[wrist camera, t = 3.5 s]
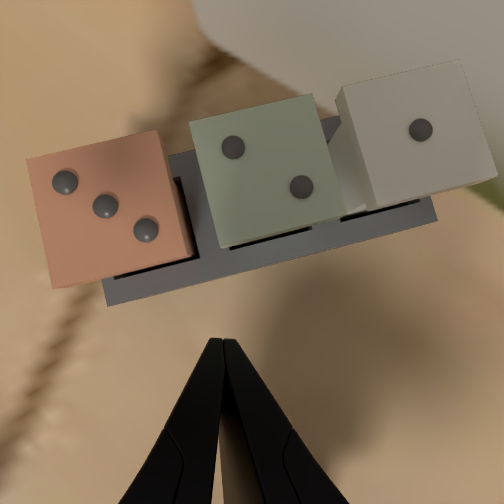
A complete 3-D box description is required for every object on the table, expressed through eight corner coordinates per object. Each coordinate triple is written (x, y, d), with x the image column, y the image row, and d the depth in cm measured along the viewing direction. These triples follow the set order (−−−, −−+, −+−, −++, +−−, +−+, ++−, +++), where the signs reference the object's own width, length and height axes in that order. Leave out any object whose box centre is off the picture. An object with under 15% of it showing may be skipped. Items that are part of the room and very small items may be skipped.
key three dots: (208, 262, 18) (186, 254, 11) (126, 283, 18) (50, 288, 11) (189, 182, 19) (155, 127, 12) (108, 202, 19) (24, 158, 12)
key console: (394, 232, 22) (438, 220, 17) (139, 299, 21) (107, 306, 16) (366, 139, 23) (400, 100, 18) (117, 199, 22) (79, 177, 17)
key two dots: (309, 236, 19) (347, 213, 12) (229, 256, 19) (219, 246, 11) (287, 158, 19) (312, 91, 12) (209, 178, 19) (187, 120, 12)
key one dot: (405, 211, 19) (500, 174, 12) (328, 231, 19) (379, 205, 12) (382, 136, 20) (461, 57, 12) (307, 154, 19) (343, 84, 12)
